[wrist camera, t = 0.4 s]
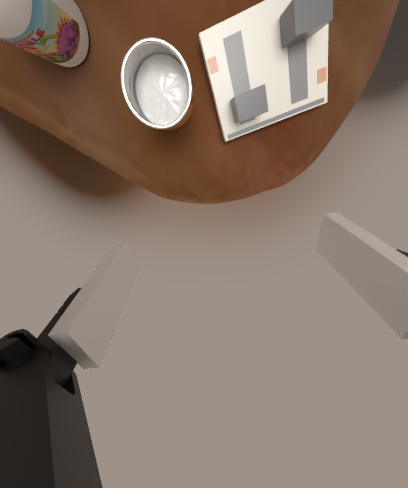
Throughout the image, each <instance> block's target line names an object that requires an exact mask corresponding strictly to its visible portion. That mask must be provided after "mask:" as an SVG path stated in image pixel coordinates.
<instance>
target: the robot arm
mask: <svg viewBox="0 0 408 488" xmlns="http://www.w3.org/2000/svg"><path fill="white" fill-rule="evenodd" d="M316 249H317V250H318V252H319V253H321V254H322V256H323V257H324V258H325V259H326V260H327V261H328V262H329V263H330V264H331V265H332V266H333V267H334V268H335V270H336V271H337V272H338V273H339V274H340V275H341V276H342V277H343V278H344V279H345V280H346V281H347V282H348V283H349V284H350V285H351V287H352V288H353V289H354V290H355V291H356V292H357V293H358V294H359V295H360V296H361V297H362V298H363V299H364V300H365V301H366V302H367V303H368V305H369V306H371V308H372V309H373V310H374V311H375V312H376V313H377V314H378V315H379V316H380V317H381V318H382V319H383V320H384V322H386V324H387V325H388V326H389V327H390V328H391V329H392V330H393V331H394V332H395V333H396V334H397V335H398V336H399V337H400V338H401V339H407V338H408V253H406V252H403V251H401V250H398V249H394V248H392V247H391V246H389V245H388V244H386V243H384V242H383V241H381V240H380V239H378V238H376V237H375V236H373V235H372V234H370V233H369V232H367V231H365V230H364V229H362V228H361V227H359V226H358V225H356V224H355V223H353V222H351V221H350V220H348V219H347V218H345V217H343V216H342V215H340V214H339V213H337V212H335V213H327V214H325V215H324V218H323V222H322V227H321V231H320V235H319V239H318V243H317V248H316ZM138 272H139V269H138V267H137V265H136V263H135V261H134V258H133V256H132V254H131V251H130V249H129V246H128V244H127V242H126V240H124V241H117V242H114V244H113V245H112V247H111V248H110V250H109V251H108V252H107V254H106V255H105V257H104V258H103V259H102V261H101V262H100V263H99V265H98V266H97V267H96V269H95V270H94V272H93V273H92V274H91V276H90V277H89V279H88V280H87V281H86V283H85V284H84V286H83V287H82V288H78V289H77V290H76V291H75V292H74V293H72V294H71V295H70V296H69V297H68V298H67V300H66V301H65V302H64V304H63V306H62V307H61V308H60V309H59V310H58V313H56V315H55V316H54V317H53V318H52V320H51V321H50V322H49V324H48V325H47V326H46V328H45V329H44V330H43V331H42V333H41V334H40V335H39V337H38V338H36V337H34V336H33V335H32V334H31V333H30V332H29V331H27V330H24V329H21V330H16V331H13V332H11V333H9V334H7V335H5V336H4V337H2V338H1V339H0V488H102V484H101V480H100V475H99V472H98V467H97V462H96V458H95V454H94V449H93V445H92V441H91V436H90V432H89V428H88V424H87V419H86V415H85V411H84V406H83V402H82V398H81V393H80V389H79V385H78V380H77V376H76V374H75V372H74V371H73V370H74V368H75V366H76V364H77V363H78V364H79V365H80V366H81V367H82V368H83V369H88V368H98V367H100V365H101V362H102V360H103V358H104V355H105V353H106V350H107V348H108V346H109V343H110V340H111V338H112V336H113V333H114V331H115V328H116V326H117V323H118V321H119V319H120V316H121V314H122V311H123V309H124V307H125V304H126V302H127V299H128V297H129V294H130V292H131V289H132V287H133V285H134V282H135V280H136V277H137V275H138Z"/></svg>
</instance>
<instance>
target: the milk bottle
mask: <svg viewBox="0 0 408 488" xmlns="http://www.w3.org/2000/svg"><path fill="white" fill-rule="evenodd" d="M0 39H2V40H4V41H6V42H8V43H10V44H12V45H15V46H17V47H19V48H21V49H24V50H26V51H28V52H30V53H33V54H35V55H37V56H39V57H42V58H44V59H46V60H49V61H51V62H53V63H56V64H58V65H61V66H64V67H74V66H77V65H79V64H80V63H81V62H82V61H83V60H84V59H85V57H86V55H87V52H88V46H89V36H88V31H87V26H86V23H85V20H84V18H83V15H82V13H81V11H80V9H79V8H78V6H77V4H76V3H75V2H74V0H0Z"/></svg>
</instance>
